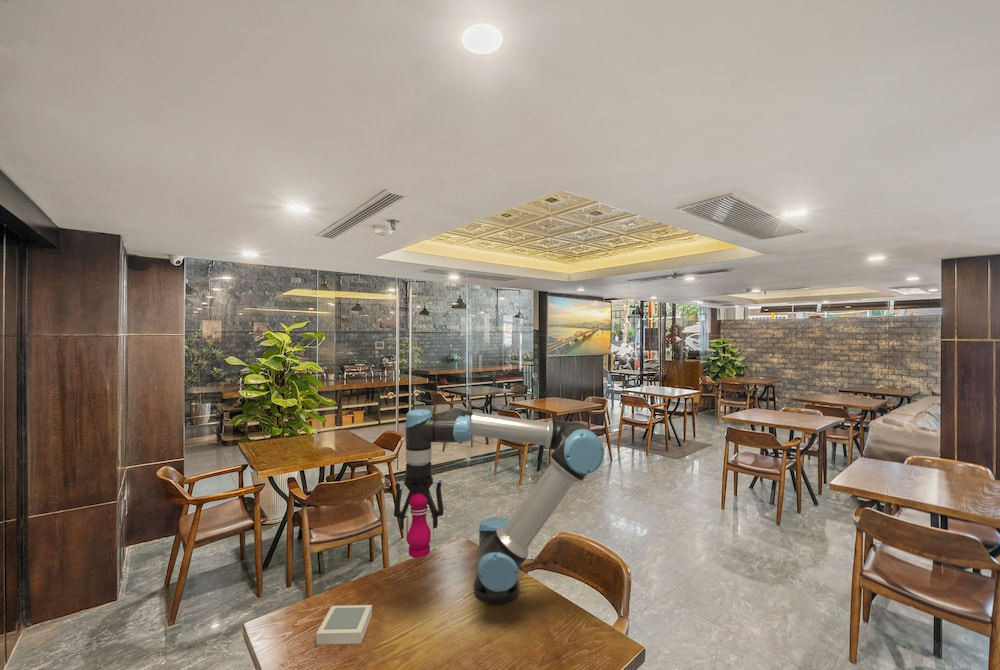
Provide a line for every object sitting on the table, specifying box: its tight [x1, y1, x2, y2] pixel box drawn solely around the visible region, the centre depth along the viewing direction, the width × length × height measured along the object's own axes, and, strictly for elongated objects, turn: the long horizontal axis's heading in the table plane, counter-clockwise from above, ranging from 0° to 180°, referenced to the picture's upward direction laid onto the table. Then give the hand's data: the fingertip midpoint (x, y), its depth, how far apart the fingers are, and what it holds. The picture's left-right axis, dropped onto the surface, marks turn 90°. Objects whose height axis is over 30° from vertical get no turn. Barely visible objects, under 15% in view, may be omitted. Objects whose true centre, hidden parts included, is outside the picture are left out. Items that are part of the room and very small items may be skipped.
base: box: [315, 604, 373, 645], centre depth 123 cm, size 12×12×3 cm
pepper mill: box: [406, 493, 432, 559], centre depth 128 cm, size 7×7×20 cm
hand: (419, 538), depth 128 cm, fingers closed on pepper mill, 7 cm apart
